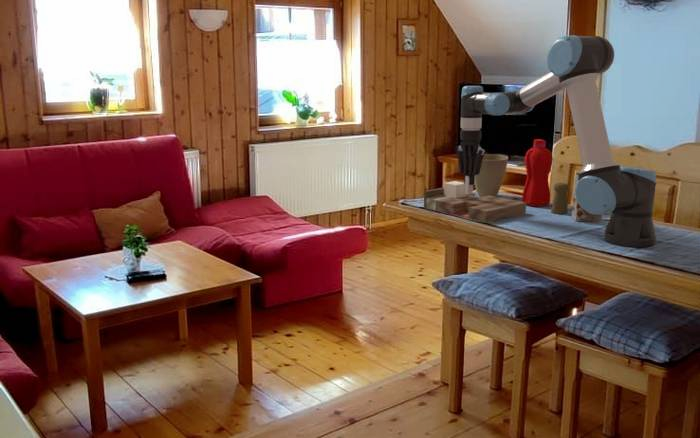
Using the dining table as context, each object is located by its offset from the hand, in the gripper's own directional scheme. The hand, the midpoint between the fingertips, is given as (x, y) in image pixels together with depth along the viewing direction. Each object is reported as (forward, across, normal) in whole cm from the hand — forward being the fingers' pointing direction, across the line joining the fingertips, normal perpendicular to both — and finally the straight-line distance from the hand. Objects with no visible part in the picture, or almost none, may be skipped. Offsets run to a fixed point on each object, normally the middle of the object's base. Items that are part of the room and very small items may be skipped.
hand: (468, 193), depth 263 cm
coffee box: (+7, -37, -20) cm, 43 cm away
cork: (+7, -24, -22) cm, 34 cm away
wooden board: (+6, -3, 0) cm, 7 cm away
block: (+2, +7, 0) cm, 7 cm away
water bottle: (+7, -11, -28) cm, 30 cm away
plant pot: (+6, +12, -25) cm, 28 cm away
